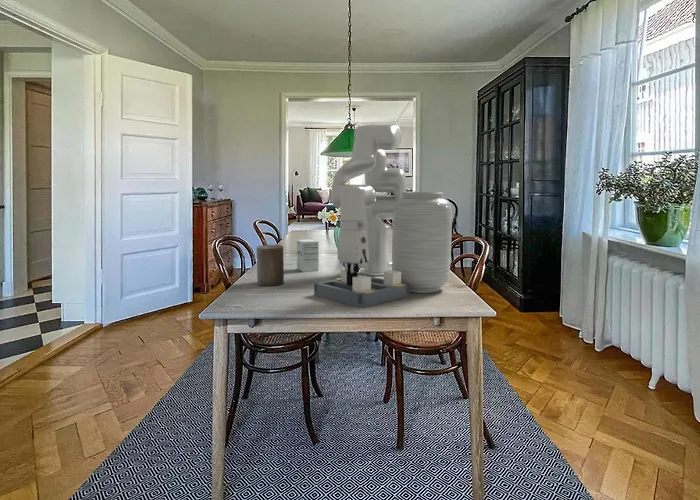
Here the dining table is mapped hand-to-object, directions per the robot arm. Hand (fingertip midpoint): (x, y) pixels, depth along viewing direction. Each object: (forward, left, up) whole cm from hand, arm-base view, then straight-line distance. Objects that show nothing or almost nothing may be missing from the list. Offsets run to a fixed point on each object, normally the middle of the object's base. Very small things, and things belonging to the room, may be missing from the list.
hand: (352, 284), depth 152 cm
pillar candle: (+4, -39, -5) cm, 39 cm away
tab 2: (-14, +4, -4) cm, 15 cm away
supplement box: (-23, -51, -5) cm, 56 cm away
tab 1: (0, +4, -4) cm, 6 cm away
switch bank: (-7, -3, -5) cm, 9 cm away
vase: (-30, +3, -5) cm, 31 cm away
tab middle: (-7, -9, -4) cm, 12 cm away
